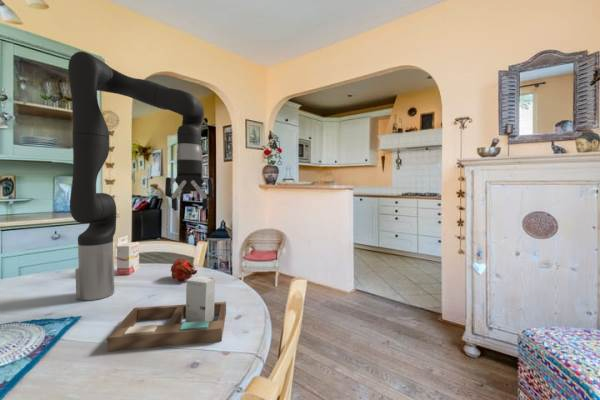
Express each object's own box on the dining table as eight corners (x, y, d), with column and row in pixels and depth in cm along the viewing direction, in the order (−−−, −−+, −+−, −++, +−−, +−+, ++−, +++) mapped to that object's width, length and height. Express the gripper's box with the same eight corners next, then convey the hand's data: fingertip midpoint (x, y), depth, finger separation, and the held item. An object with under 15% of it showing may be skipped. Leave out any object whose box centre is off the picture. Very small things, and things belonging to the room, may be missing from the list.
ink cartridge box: (129, 275, 112) (129, 238, 112) (116, 275, 112) (115, 238, 111) (140, 268, 121) (139, 234, 120) (128, 269, 120) (127, 234, 120)
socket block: (107, 351, 61) (107, 335, 61) (134, 318, 76) (134, 306, 76) (221, 340, 66) (221, 326, 66) (226, 312, 81) (226, 300, 80)
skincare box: (184, 326, 72) (184, 280, 72) (196, 318, 77) (195, 274, 76) (205, 330, 70) (205, 282, 70) (215, 322, 75) (215, 277, 74)
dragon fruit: (178, 278, 114) (190, 291, 105) (160, 270, 108) (171, 282, 100) (191, 260, 116) (204, 271, 107) (175, 251, 110) (187, 261, 102)
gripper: (162, 157, 84) (162, 211, 85) (211, 159, 87) (211, 211, 88) (168, 159, 92) (169, 209, 92) (214, 161, 94) (214, 209, 95)
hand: (190, 210), depth 90 cm, fingers open, 8 cm apart
